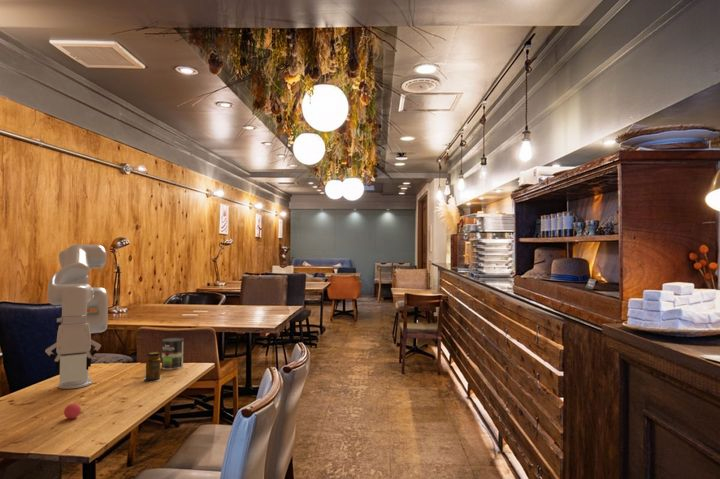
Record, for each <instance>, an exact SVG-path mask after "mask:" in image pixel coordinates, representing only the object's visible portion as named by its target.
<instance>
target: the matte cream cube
mask: <svg viewBox="0 0 720 479" xmlns="http://www.w3.org/2000/svg"><path fill="white" fill-rule="evenodd" d="M86 360H87V353H76V354H65V355H60V373H59V383H63V382H71V381H79V380H86Z"/></svg>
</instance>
